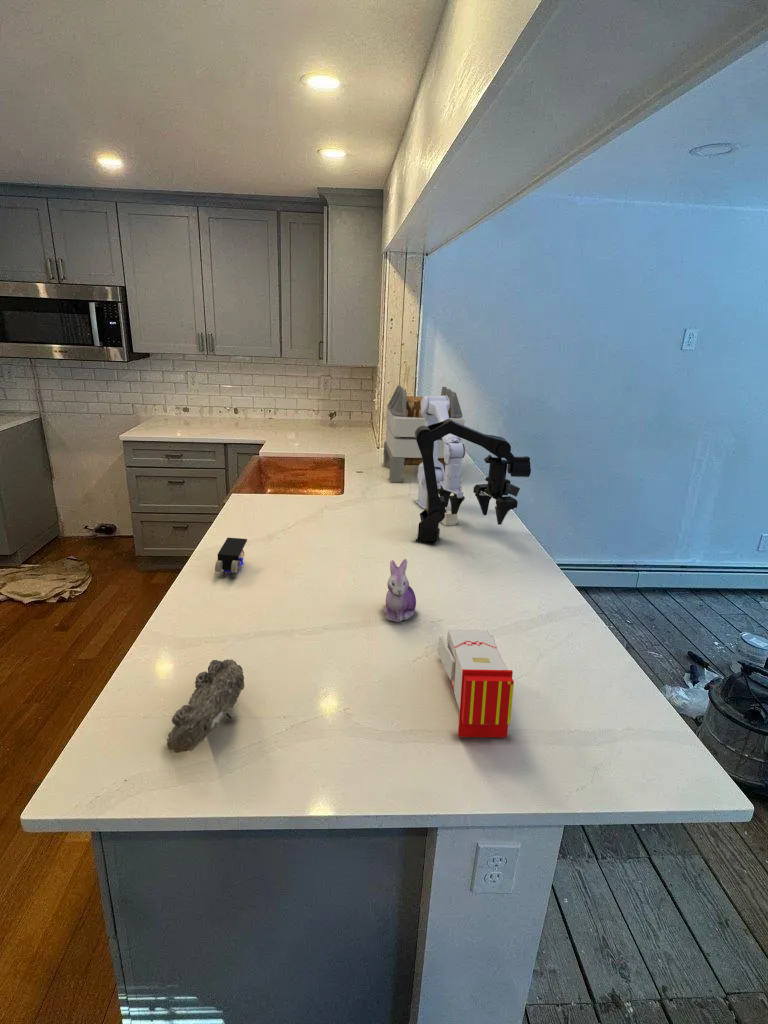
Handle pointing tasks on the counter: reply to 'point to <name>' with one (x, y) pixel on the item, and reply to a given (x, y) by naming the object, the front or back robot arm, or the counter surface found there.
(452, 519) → the light grey cube-like block
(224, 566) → the figurine character
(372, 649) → the counter surface
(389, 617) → the figurine
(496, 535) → the counter surface
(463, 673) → the toy
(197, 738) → the fossil
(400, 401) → the grey wooden planter box
